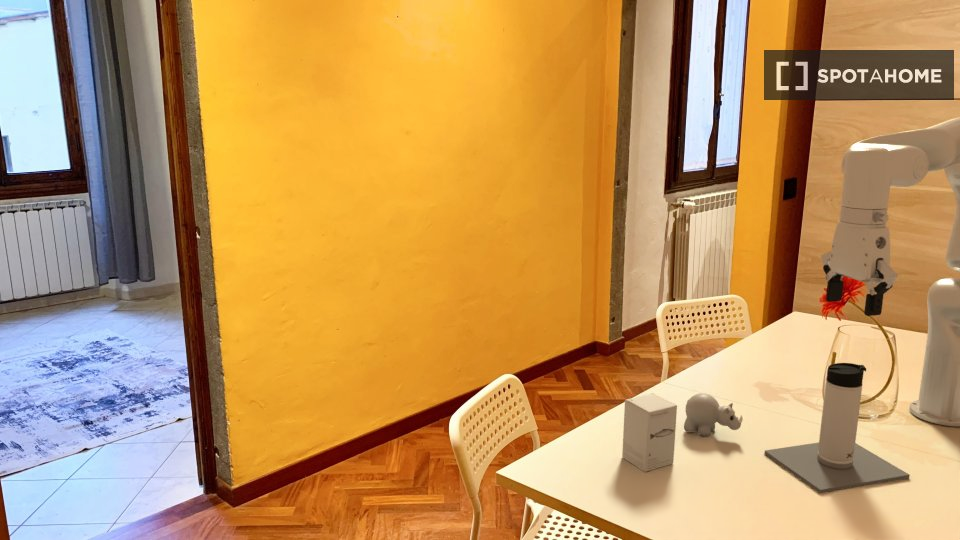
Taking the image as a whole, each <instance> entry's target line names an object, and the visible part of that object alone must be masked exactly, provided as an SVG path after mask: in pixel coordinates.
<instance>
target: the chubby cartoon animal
mask: <svg viewBox="0 0 960 540" xmlns="http://www.w3.org/2000/svg"><path fill="white" fill-rule="evenodd" d="M733 405H734V404H733V402H731V403H730V404H728V405H723V406H720V403H719V402H718V400H717V399H716V398H715V397H713V395H711V394H707V393H696V394H694V395H692V396H691V397H690V398H689V399H688V400H687V401H686V404H685V415H686V418H685V420H684V424H683V430H684V431H686V432H688V433H695V432H696V431H697V433H698V435H700V436H701V437H710V435H711V432H713V431H715V429H716V424H719V425H720V426H723V427H724V426H725V427H728V428H729V429H730V430H732V431H737V430H739V429H740V428H741V425H742V423H743V415H740V417H738V416H737V415H735V413H736V411H735V410H734V409H733Z"/></svg>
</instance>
